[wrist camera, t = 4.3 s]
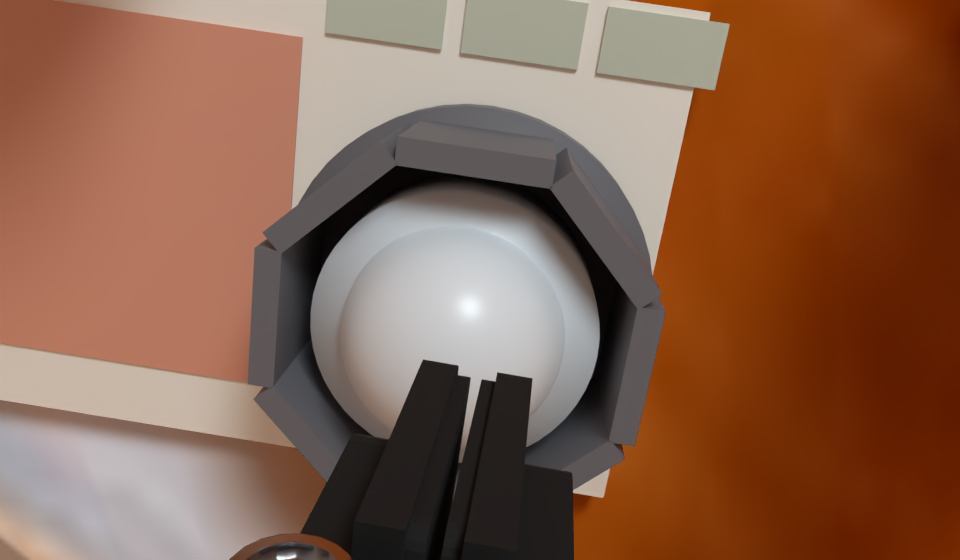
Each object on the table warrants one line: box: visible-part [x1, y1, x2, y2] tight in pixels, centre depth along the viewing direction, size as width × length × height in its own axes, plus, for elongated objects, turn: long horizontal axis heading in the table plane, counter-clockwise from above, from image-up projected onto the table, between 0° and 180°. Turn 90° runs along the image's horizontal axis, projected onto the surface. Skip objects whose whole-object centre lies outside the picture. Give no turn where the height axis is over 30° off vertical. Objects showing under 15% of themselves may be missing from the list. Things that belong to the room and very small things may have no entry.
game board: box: [0, 0, 730, 498], centre depth 19 cm, size 20×14×6 cm
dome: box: [310, 174, 600, 463], centre depth 18 cm, size 7×7×5 cm
